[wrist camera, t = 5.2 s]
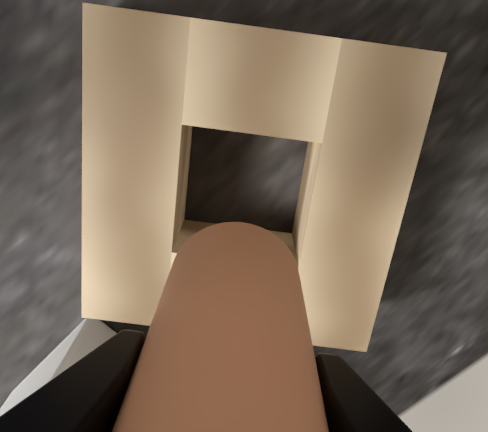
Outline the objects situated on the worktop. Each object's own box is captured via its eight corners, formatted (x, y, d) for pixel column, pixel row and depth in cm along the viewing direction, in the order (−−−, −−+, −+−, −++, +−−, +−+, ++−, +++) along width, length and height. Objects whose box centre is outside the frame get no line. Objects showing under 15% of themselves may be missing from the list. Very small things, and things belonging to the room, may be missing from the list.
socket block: (106, 277, 23) (81, 317, 19) (113, 8, 18) (82, 2, 15) (350, 307, 23) (366, 351, 20) (413, 50, 19) (446, 52, 15)
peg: (166, 327, 12) (-35, 988, 4) (175, 214, 11) (-85, 791, 3) (288, 342, 12) (363, 1019, 4) (309, 230, 11) (486, 847, 3)
